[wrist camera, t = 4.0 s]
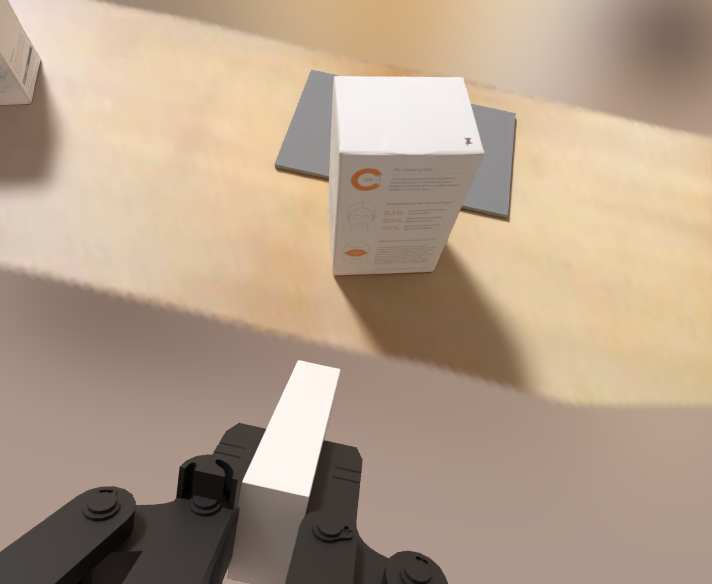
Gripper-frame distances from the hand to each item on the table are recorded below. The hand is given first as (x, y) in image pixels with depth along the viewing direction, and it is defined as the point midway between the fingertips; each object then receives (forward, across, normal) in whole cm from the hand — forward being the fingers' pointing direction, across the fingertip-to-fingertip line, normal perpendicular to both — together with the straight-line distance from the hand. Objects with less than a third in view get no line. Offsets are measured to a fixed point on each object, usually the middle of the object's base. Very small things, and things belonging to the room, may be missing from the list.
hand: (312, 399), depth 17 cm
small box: (+23, +1, +2) cm, 24 cm away
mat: (+31, +2, +10) cm, 33 cm away
